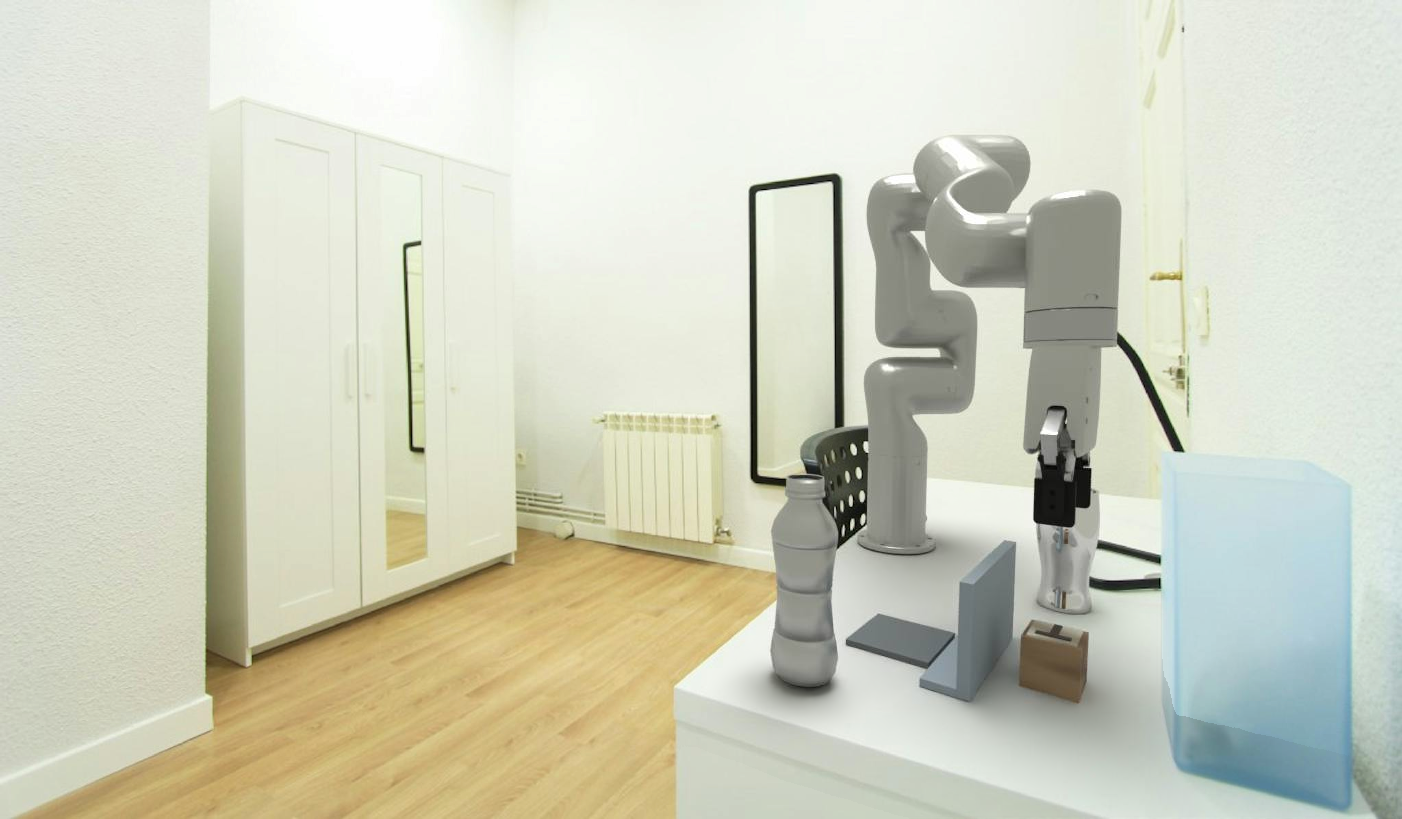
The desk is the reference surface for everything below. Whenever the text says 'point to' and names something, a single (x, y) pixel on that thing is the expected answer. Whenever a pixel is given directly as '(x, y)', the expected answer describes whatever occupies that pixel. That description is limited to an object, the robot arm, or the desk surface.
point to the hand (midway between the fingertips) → (1063, 515)
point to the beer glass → (1068, 560)
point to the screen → (978, 626)
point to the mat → (901, 640)
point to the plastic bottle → (804, 584)
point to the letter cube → (1054, 660)
